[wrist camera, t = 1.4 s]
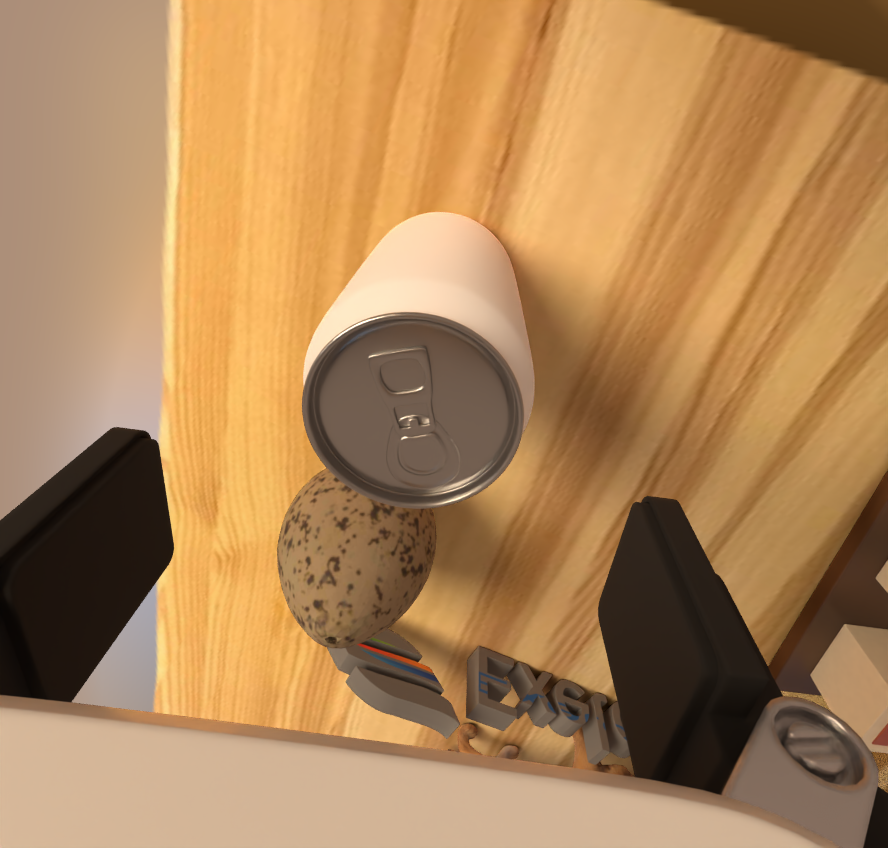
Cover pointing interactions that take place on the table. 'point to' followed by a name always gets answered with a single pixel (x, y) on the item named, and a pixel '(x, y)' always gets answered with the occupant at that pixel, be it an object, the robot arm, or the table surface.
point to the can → (422, 367)
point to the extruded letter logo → (476, 694)
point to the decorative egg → (351, 561)
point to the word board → (839, 598)
